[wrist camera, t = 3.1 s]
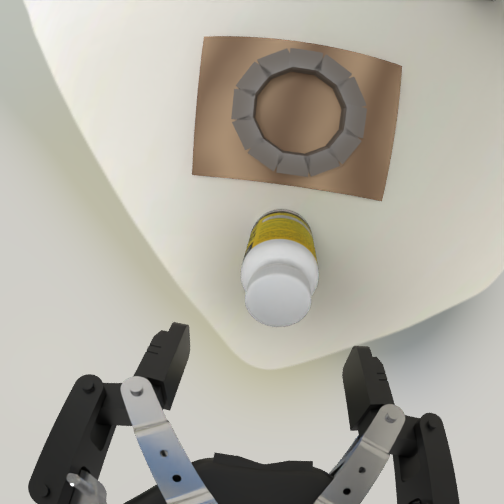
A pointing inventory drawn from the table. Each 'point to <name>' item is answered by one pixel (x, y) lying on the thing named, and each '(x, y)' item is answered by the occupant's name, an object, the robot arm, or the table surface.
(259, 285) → the supplement bottle
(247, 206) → the table surface
